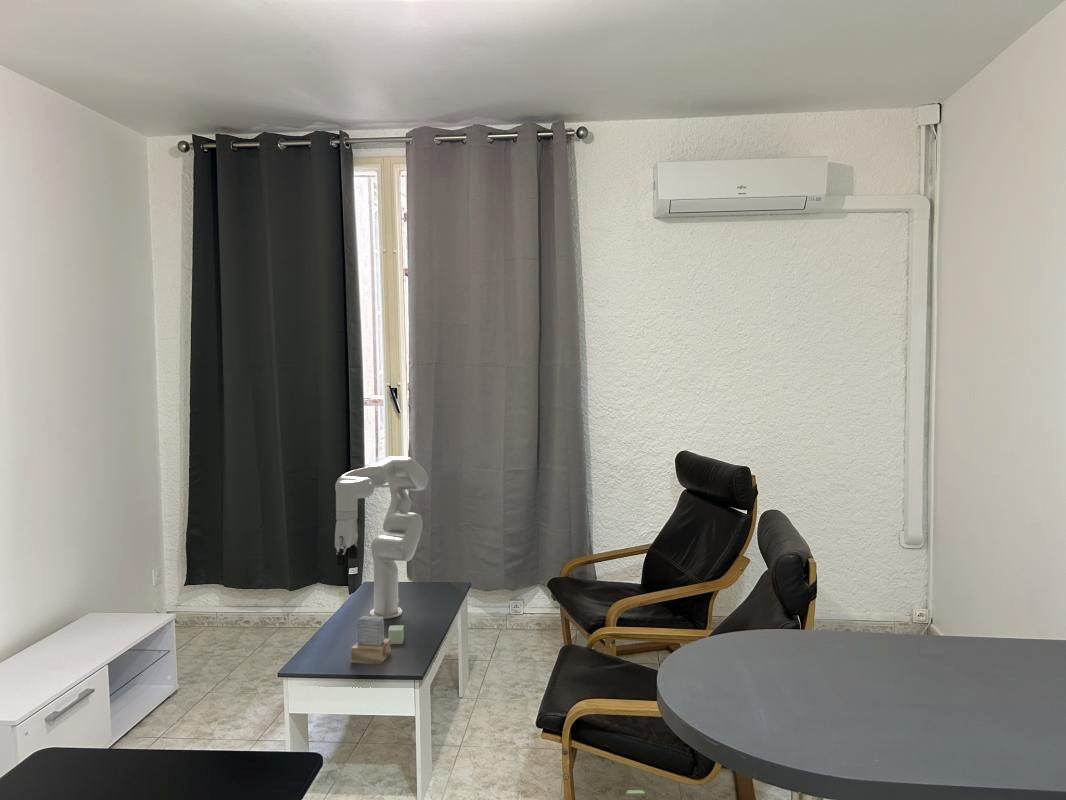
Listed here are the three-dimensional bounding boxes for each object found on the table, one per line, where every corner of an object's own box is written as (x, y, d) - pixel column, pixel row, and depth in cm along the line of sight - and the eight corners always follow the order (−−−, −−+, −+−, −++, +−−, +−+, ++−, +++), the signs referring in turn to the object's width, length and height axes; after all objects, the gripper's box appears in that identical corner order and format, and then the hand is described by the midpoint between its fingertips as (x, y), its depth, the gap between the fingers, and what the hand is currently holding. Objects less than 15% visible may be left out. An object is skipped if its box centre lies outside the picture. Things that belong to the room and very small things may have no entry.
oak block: (363, 651, 259) (363, 637, 259) (390, 653, 258) (390, 639, 258) (351, 662, 250) (351, 647, 249) (379, 664, 248) (379, 650, 248)
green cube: (389, 639, 271) (389, 625, 271) (403, 638, 272) (403, 625, 271) (388, 644, 266) (388, 630, 266) (402, 644, 267) (402, 630, 266)
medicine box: (384, 641, 255) (384, 616, 255) (379, 646, 251) (379, 621, 250) (362, 640, 256) (362, 615, 256) (357, 645, 252) (357, 619, 251)
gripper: (347, 509, 278) (347, 555, 279) (326, 519, 261) (326, 567, 262) (366, 510, 277) (366, 556, 277) (346, 520, 260) (347, 568, 260)
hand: (347, 561), depth 270 cm, fingers open, 9 cm apart
